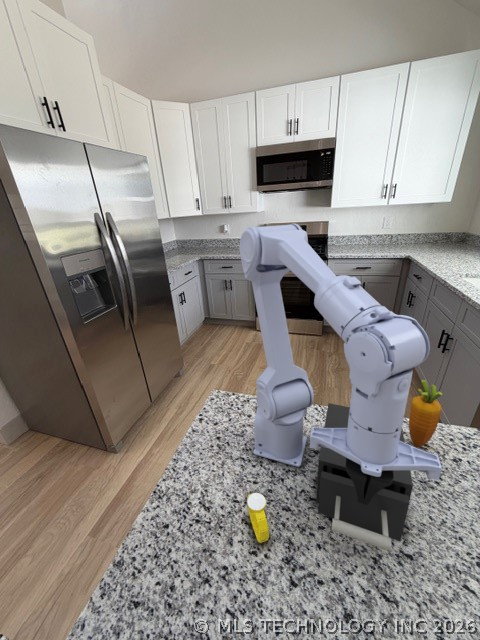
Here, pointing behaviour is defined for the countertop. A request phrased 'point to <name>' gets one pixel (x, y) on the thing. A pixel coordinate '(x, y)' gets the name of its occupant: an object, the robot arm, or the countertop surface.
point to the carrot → (424, 415)
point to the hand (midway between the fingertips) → (362, 497)
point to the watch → (258, 516)
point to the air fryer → (339, 419)
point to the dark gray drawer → (362, 510)
